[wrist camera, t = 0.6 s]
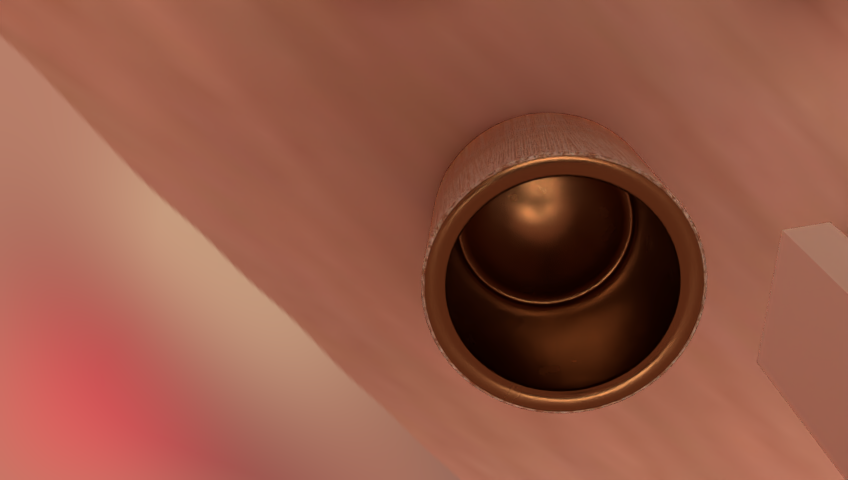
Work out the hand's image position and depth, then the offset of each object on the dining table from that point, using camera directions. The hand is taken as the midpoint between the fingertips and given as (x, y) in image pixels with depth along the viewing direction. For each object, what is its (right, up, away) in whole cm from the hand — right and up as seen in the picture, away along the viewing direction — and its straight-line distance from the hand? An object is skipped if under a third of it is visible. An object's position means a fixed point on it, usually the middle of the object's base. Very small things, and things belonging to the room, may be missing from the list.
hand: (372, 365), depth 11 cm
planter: (+7, +3, +25) cm, 26 cm away
